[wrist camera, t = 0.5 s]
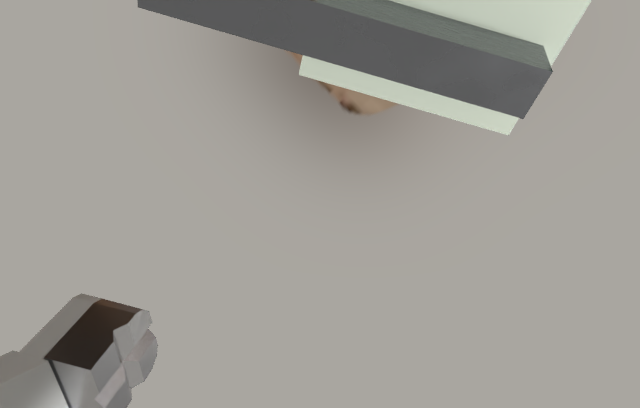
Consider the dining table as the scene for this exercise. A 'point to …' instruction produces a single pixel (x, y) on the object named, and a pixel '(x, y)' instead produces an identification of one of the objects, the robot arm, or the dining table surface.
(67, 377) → the robot arm
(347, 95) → the dining table surface
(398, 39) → the graphite bar
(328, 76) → the sage stand
